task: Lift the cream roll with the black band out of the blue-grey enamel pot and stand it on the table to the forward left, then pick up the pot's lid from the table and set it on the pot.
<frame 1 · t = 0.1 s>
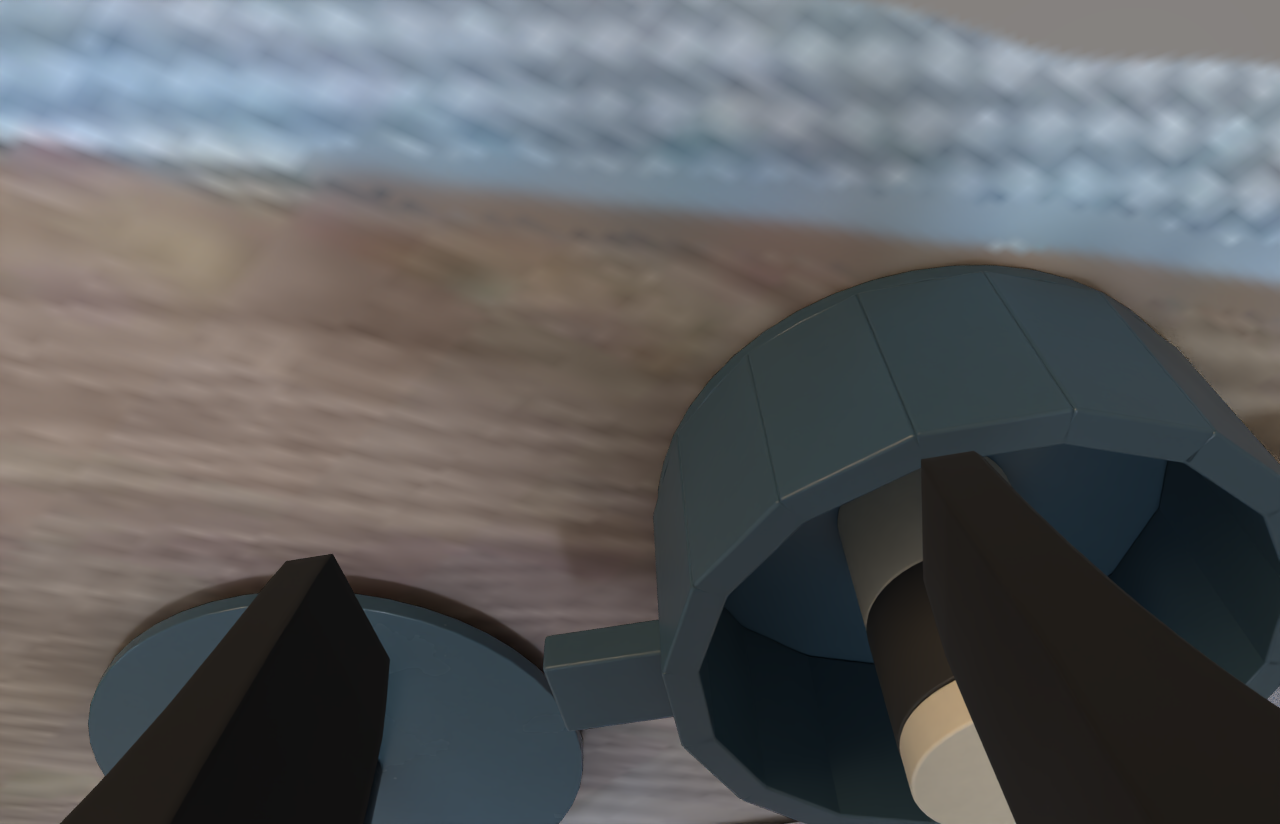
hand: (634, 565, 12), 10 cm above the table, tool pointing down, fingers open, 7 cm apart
lid: (346, 752, 30), point 1 cm above the table
roll: (922, 510, 24), resting on pot
pot: (917, 497, 25), on the table
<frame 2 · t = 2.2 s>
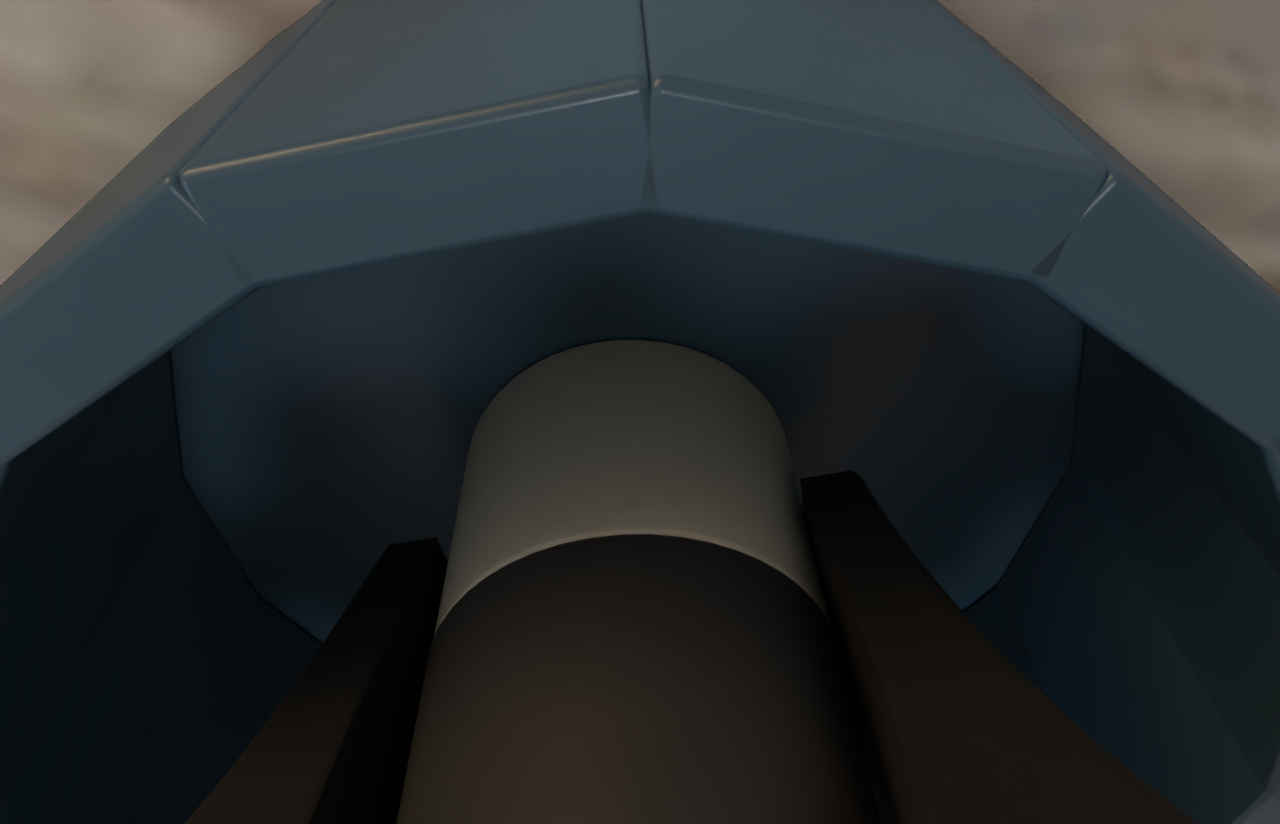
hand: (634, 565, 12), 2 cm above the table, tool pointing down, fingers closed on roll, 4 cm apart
roll: (629, 471, 13), point 1 cm above the table, touching gripper, pot
pot: (630, 448, 14), on the table
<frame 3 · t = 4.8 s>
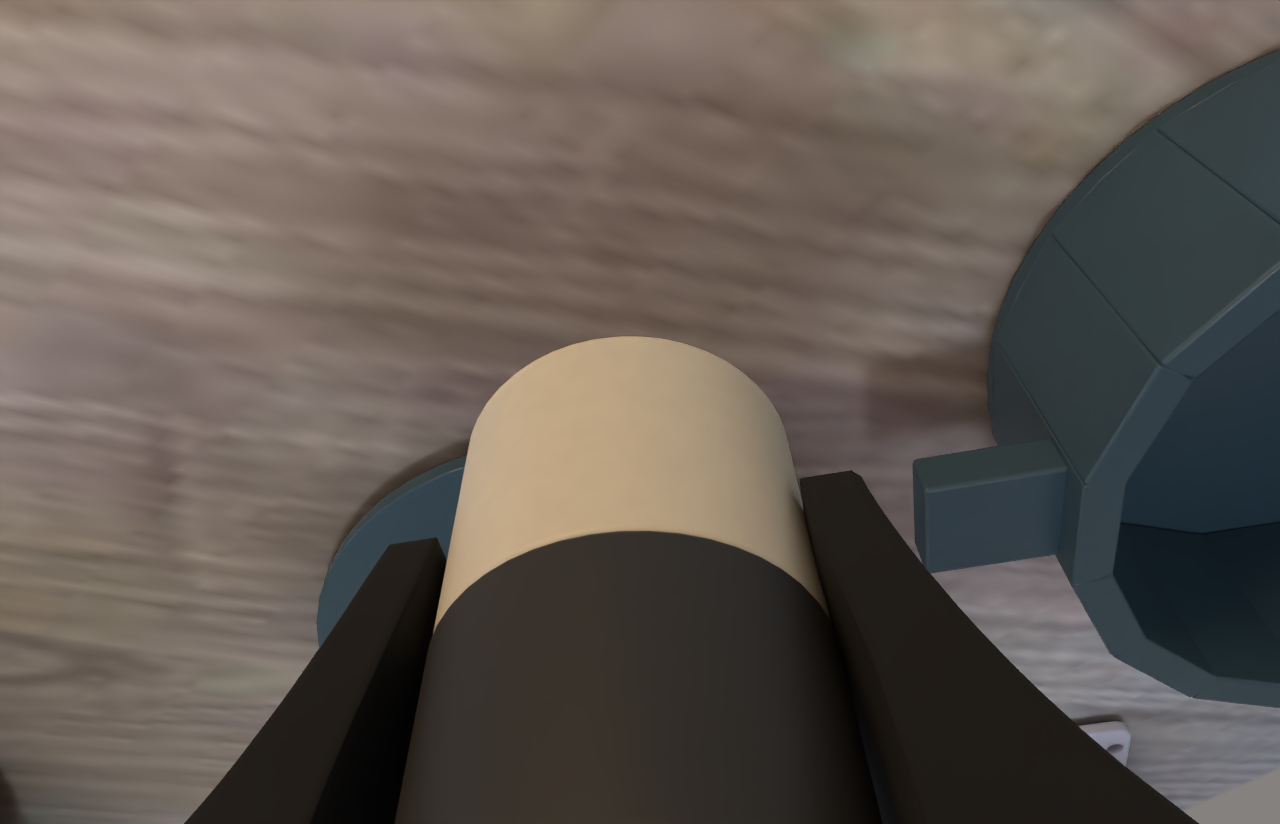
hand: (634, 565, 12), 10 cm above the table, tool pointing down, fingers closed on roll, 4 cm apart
lid: (587, 640, 27), point 1 cm above the table
roll: (628, 469, 13), point 8 cm above the table, touching gripper
when the fingers open (2 cm above the table, at t = 7.3 s): roll stays where it is, on the table.
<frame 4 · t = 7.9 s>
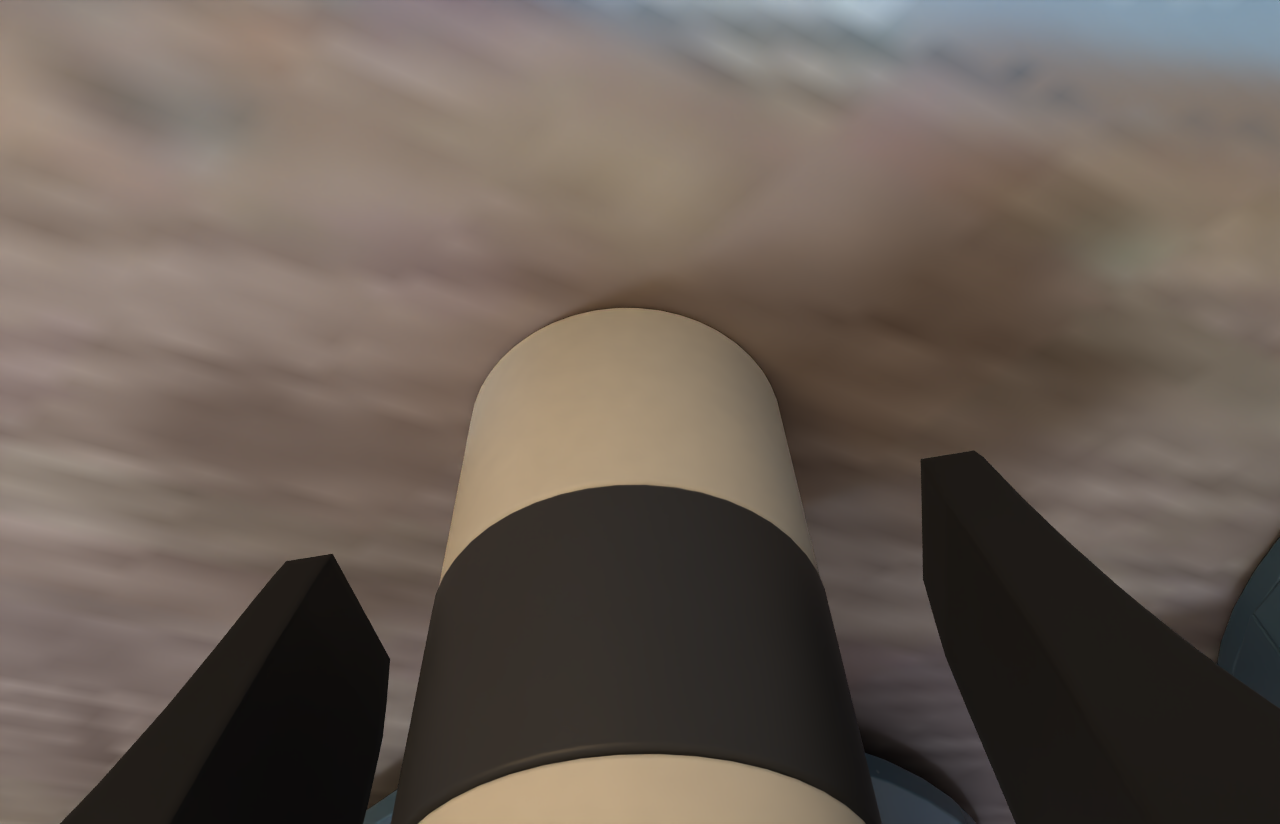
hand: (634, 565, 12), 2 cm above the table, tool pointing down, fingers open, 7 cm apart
roll: (626, 438, 14), on the table
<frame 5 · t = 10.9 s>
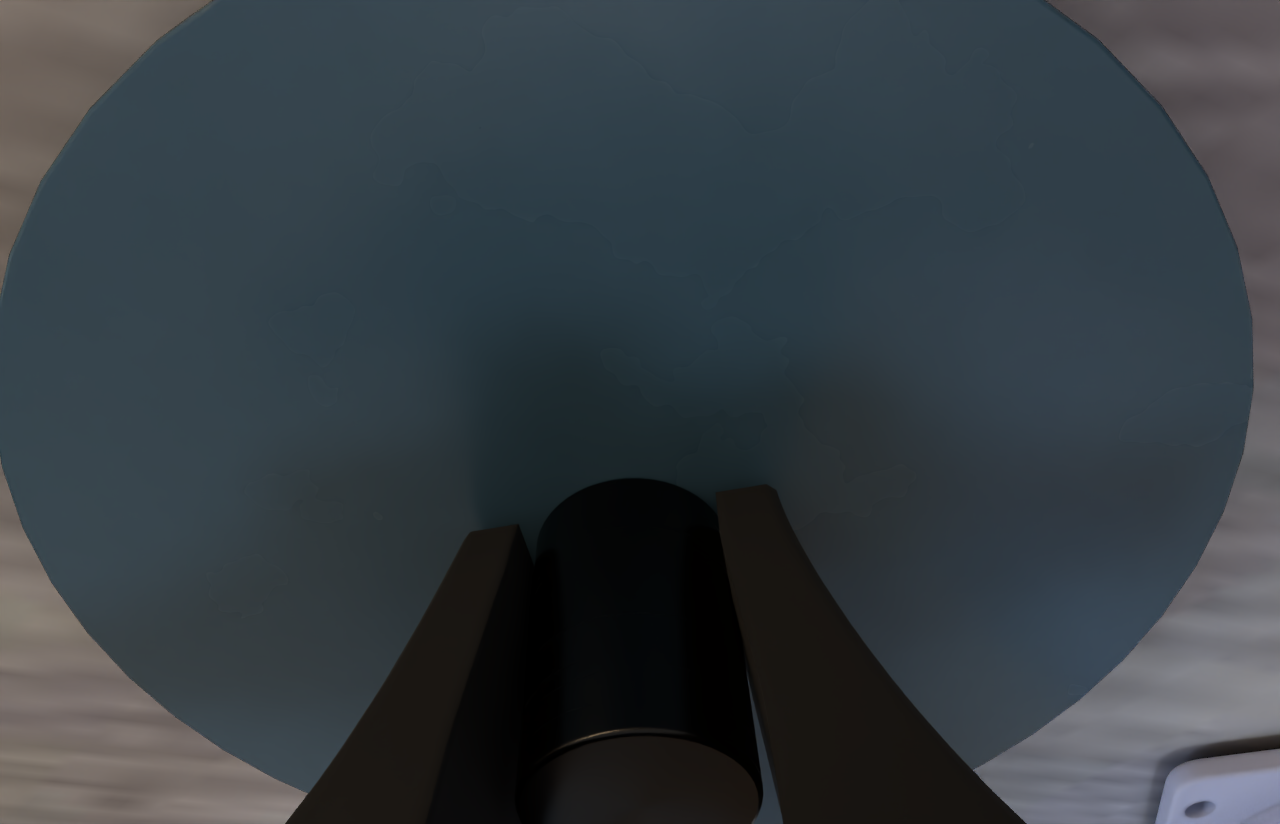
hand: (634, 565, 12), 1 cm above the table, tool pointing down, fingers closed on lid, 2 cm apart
lid: (631, 521, 12), point 1 cm above the table, touching gripper
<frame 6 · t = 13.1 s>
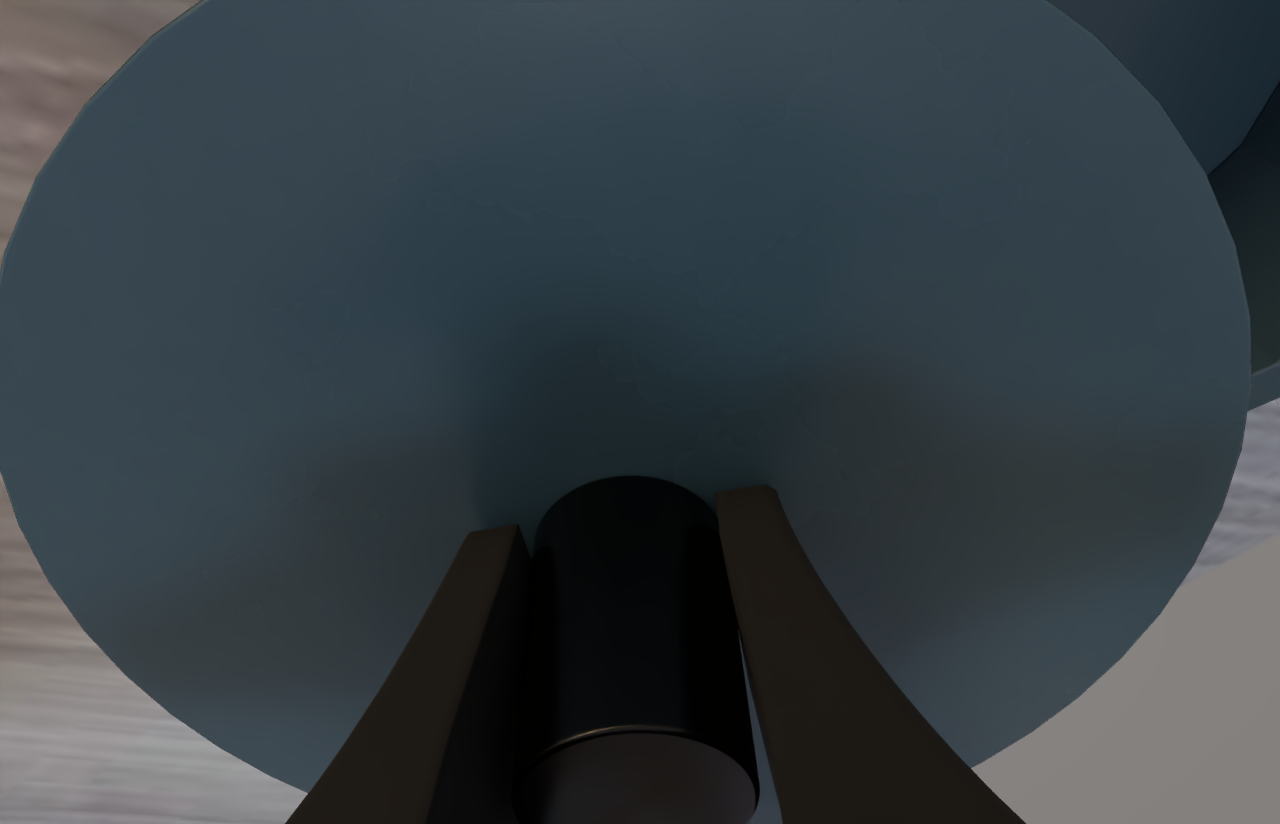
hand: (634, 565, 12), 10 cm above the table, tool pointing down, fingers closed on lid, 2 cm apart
lid: (629, 518, 12), point 10 cm above the table, touching gripper
pot: (981, 10, 18), on the table
when the fingers open (6 cm above the table, at t = 15.1 s): lid stays where it is, resting on pot.
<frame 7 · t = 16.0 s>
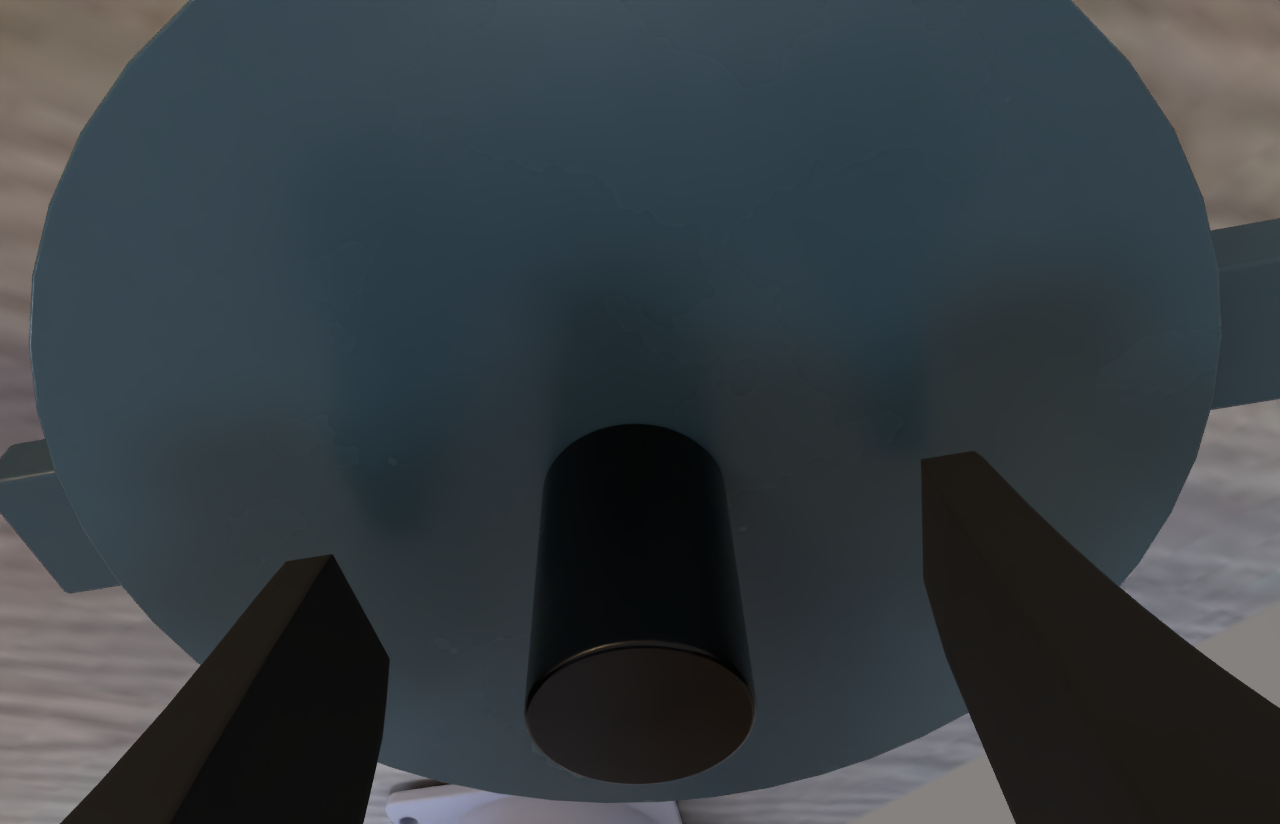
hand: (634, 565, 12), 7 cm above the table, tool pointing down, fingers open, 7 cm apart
lid: (633, 469, 13), point 5 cm above the table, touching pot
pot: (629, 278, 17), on the table
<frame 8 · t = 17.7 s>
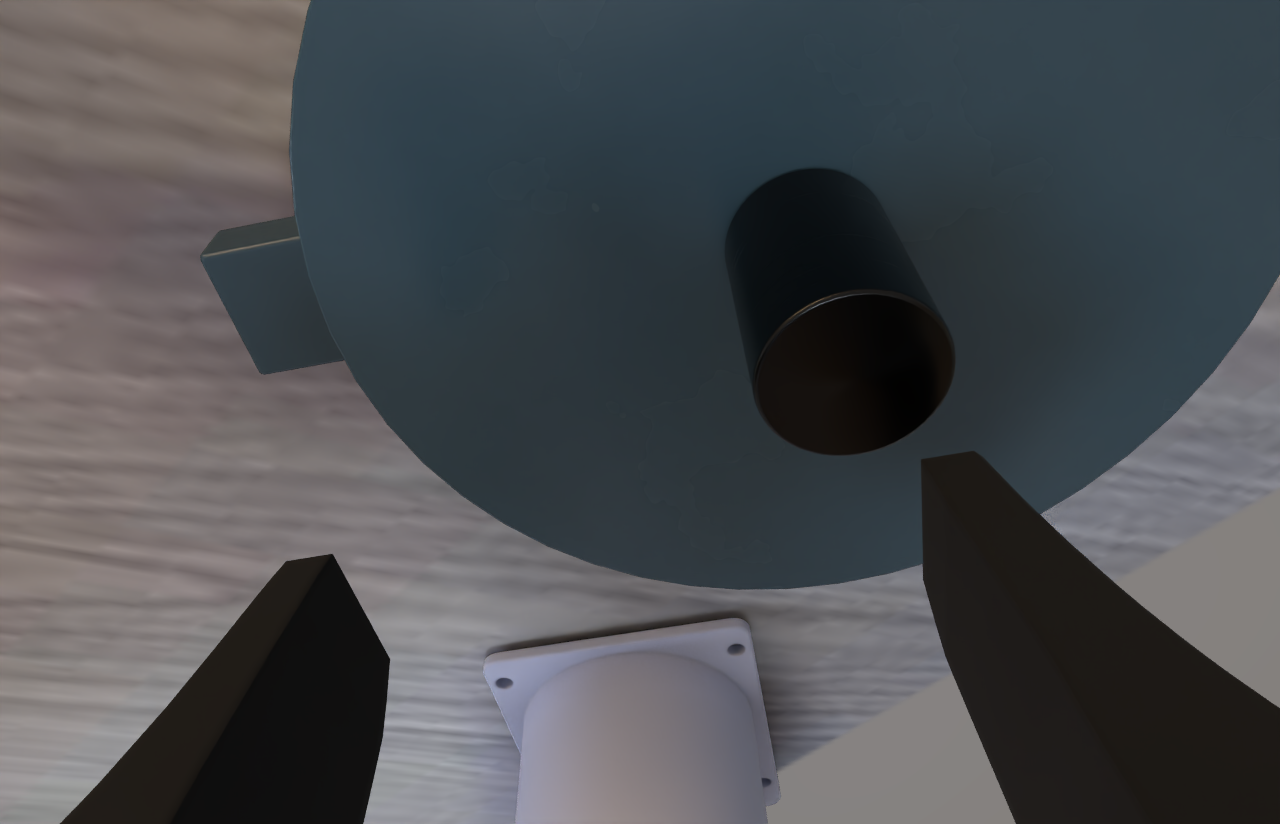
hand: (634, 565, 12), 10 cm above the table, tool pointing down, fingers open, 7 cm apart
lid: (799, 229, 14), point 5 cm above the table, touching pot
pot: (756, 110, 19), on the table
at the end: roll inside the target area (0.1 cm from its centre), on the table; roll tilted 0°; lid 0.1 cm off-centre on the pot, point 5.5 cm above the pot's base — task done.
